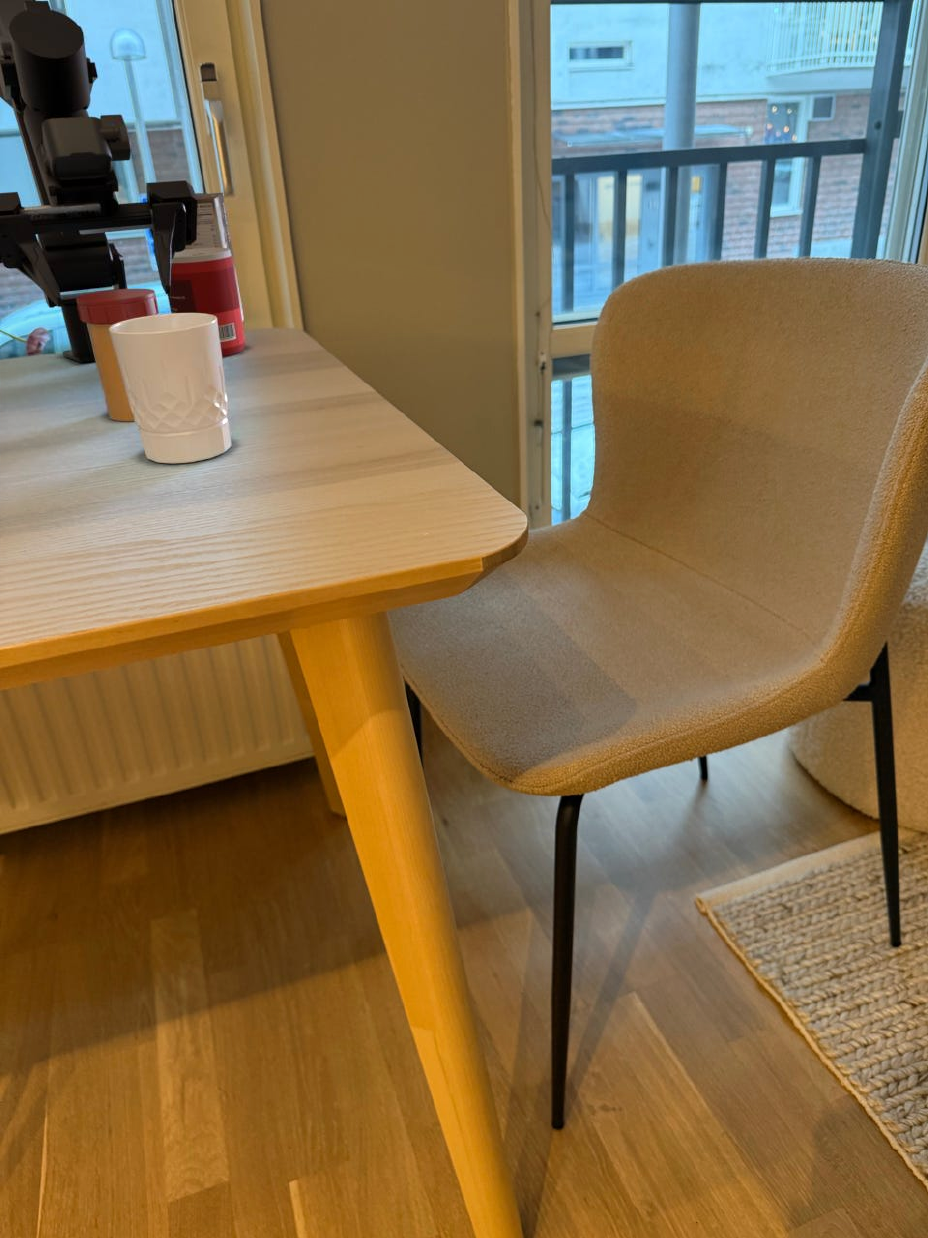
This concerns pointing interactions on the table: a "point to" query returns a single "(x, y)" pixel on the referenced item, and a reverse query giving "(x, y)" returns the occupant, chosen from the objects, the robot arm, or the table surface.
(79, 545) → the table surface
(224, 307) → the canned food
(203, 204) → the coffee box
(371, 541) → the table surface
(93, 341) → the jar
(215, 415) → the white cup
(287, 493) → the table surface
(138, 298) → the lid
